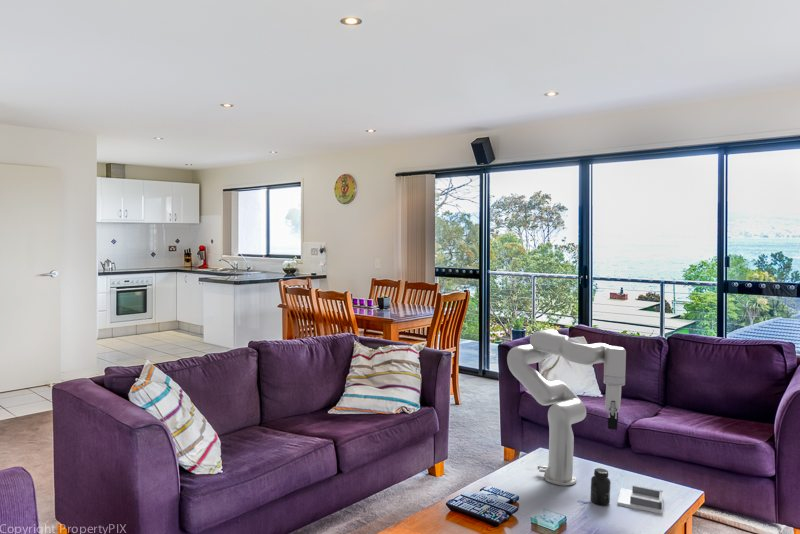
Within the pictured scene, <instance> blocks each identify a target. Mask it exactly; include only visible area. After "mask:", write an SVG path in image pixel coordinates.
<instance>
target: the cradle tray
mask: <svg viewBox="0 0 800 534" xmlns="http://www.w3.org/2000/svg"><path fill="white" fill-rule="evenodd" d="M631 488H632V489H629V488H628V489H627V488H624V487H620V491H619V495H618V498H617V506H621V507H625V508H626V507H627V508H631V509H635V510H640V511H645V512H651V513H655V514H661V515H663V509H664V508H663V507H664V506H663V505H664V494H663V491H664V490H662V489H656V488H655V489H654V488H652V487H651V488H649V487H645V486H639V485H633V484H632V486H631Z"/></svg>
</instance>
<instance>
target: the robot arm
mask: <svg viewBox="0 0 800 534" xmlns="http://www.w3.org/2000/svg"><path fill="white" fill-rule="evenodd" d="M549 355H555V356H559V357H562V358H563V359H565V360H566V361H568V362H572V363H576V364H580V365H585V366H590V365H591V366H592V365H595V364H602V363H603V384H605V386H606V387H605V401H604V403H605V405H604V410H605V412H608V418H607V429H608V430H617V429H618V422H619V411H620V407H621V403H622V402H621V400H622V399H621V398H622V387H623V386H625V385H626V367H627V366H626V365H627V363H626V362H627V351H626V349H625V348H624V347H622V346H617V345H609V344H607V343H605V342H604V343H603V342H595V343H590V344H589V343H588V344H583V343H582V344H581V343H578V342H577V343H576V342H572V340H571V338H570V337H569V336H568V335H566V334H565V335H564V334H561V333H559V332H558V330H555V329H552V328H550V329H540V330H537V331H534V332H533V333H531V335H530V338H529V343H528V344H520V345H516V346H514V347H512V348H511V349H510V350H509V351H508V353H507V356H506V362H507V367H508V369H509V371H510V373H511V374H512V376H514V378H515V379H516V380H517V381H519V382H520V383H521V384H522V385H523V387H524V389H526V390H527V391H528V393H529V394H530V395H531V396H532V398H534V400H535V401H536V402H537V403H538V404H539V405H541V406H544V407H545V406H550V405H551V406H550V407H549V408H548V411H547V421H548V426H549V427H548V428H549V431H548V432H549V434H548V435H549V439H548V442H549V443H548V465H541V464H538V465H537V470H539V471H538V472H540V473H544V474H543V479H544V480H545V481H547V482H548V483H550V484H552V485H557V486H563V487H564V486H566V487H567V486H573V485H575V484H576V483H577V477H576V476H575V475H574V474H573V473H574V472H573V467H574V446H575V445H574V443H575V441H574V439H575V438H574V432H573V428H572V425H573V424H576V423H579V422H582V421H583V420H584V419H585V418H586V417H587V408H586V405H585V403H584V402H583V401H582V400H581V399H580V397H578V396H577V394H576V393H575V392H574V391H573V389H571V388H570V387H569V386H568V385H567V384H566V383H565V382H563V380H562V381H561V380H558V379H552V380H547V379H546V378H544V376H542V375H541V374H540V372H539V371H538V370H536V369H535V368H533V367H531V366H530V365H532V364H536V363H539V362H542V361H543V360H545V359H546V358H548V356H549Z"/></svg>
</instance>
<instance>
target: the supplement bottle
mask: <svg viewBox="0 0 800 534" xmlns="http://www.w3.org/2000/svg"><path fill="white" fill-rule="evenodd" d="M611 486H612V485H611V479H610V478H609V470H607V469H604V468H599V467H597V468H595V469H594V471H593V476H591V479H590V497H589V498H590V502H591V503H592V504H593V505H596V506H600V507H606V506H609V505H610V501H611Z"/></svg>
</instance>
